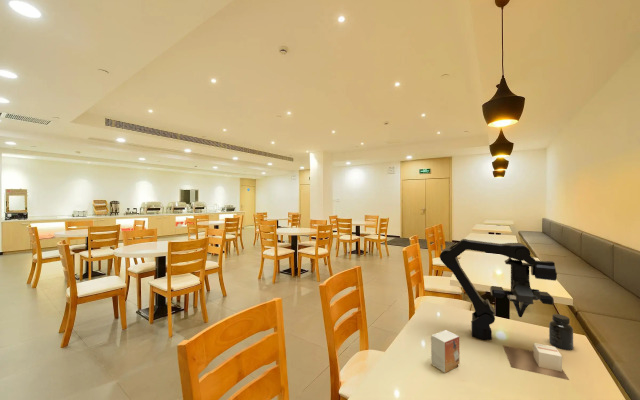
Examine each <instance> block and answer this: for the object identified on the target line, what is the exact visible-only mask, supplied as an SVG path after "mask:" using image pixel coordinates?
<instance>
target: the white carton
mask: <svg viewBox="0 0 640 400" xmlns="http://www.w3.org/2000/svg"><path fill="white" fill-rule="evenodd" d="M533 351H534V358H535V360H536V362H537V364H538V366H539V367H542V368H547V369H552V370H557V371H561V372H562V369H563V356H562V354H561V353H560V352H559V350H558V348H556V347H554V346H552V345H547V344H541V343H538V342H537V343H536V342H533Z"/></svg>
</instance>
